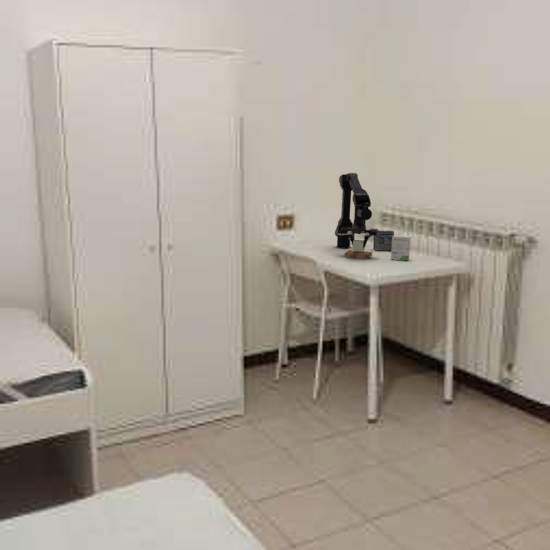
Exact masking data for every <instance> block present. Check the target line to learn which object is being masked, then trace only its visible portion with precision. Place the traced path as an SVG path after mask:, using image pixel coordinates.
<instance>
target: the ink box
mask: <svg viewBox="0 0 550 550" xmlns="http://www.w3.org/2000/svg"><path fill="white" fill-rule="evenodd" d="M410 248H411V236H408V235H407V236H405V235H404V236H403V235H394V236H393V237H392V249H391V251H390V260H391V259H394V260H393V261H400V260H408V261H409V260H410Z"/></svg>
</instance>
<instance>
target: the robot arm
mask: <svg viewBox="0 0 550 550" xmlns="http://www.w3.org/2000/svg"><path fill="white" fill-rule="evenodd" d="M358 176H359V174H358V173H356V172H349V173H346V174H341V175H340V176H339V177H338V182H339V186H340V188H341V190H342V193H341V194H342V195H341V215H340V218H339V220H338V221H337V225H336V228H335V230H334V236H336V238H337V241H336V246H335V248H336V247H339V248H338V249H349V248H351V247H353V241H354V240H356V238H355V237H356V236H355V234H357V235H361V234H364V236H363V238H364V239H363V240H364V244H363V249H364V248H365V249H366V245H367V243H368V240H369V239H370V238H371V237H374V236H377V235H378V234H379V231H380V230H379V229H378V228H370V229H367V226H366V223H367V222H366V221H369V220H370V219H372V216H373V212H372V210H371V209H370V207H371V205H372V202H371V198H370V195H369V194H368V192H367V190H366V189H364V188H363V187H362V185H361V182H360V180H359V177H358ZM352 193H353V194H352ZM351 202H352V203H353V205H354V206H353V207H354V218H353V222H352V219H351V218H350V217H351ZM348 247H349V248H348Z"/></svg>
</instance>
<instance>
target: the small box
mask: <svg viewBox="0 0 550 550" xmlns="http://www.w3.org/2000/svg"><path fill="white" fill-rule="evenodd" d="M393 236H395V231H394V230H379V234H378V235H377V236H373V246H372V247H373V249H374V250H375V251H374V250H373V251H374V252H391V249H392V237H393Z"/></svg>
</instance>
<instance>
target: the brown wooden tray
mask: <svg viewBox="0 0 550 550" xmlns="http://www.w3.org/2000/svg"><path fill="white" fill-rule="evenodd" d="M371 256H372V257H373V251H366V250H364V251H363V252H360V251H353V249H349V250H347V251H346V252H345V253H344V258H345V257H346V258H347V259H356V258H362V259H361V260H369V259H370V258H371ZM346 258H345V259H346Z"/></svg>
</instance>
